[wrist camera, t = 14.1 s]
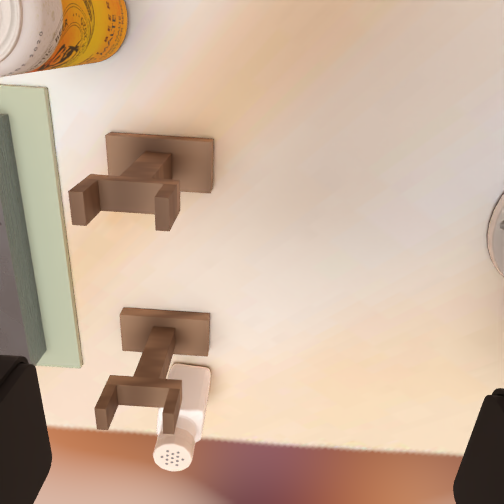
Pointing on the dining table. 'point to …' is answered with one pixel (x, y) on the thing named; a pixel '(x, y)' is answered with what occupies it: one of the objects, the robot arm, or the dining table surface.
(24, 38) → the beer can
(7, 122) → the rail
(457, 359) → the dining table surface
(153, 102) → the dining table surface
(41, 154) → the board
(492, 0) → the dining table surface
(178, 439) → the salt shaker
